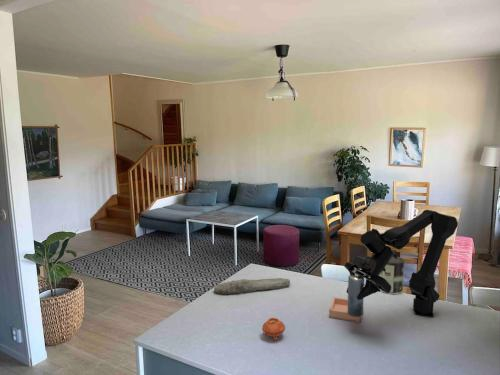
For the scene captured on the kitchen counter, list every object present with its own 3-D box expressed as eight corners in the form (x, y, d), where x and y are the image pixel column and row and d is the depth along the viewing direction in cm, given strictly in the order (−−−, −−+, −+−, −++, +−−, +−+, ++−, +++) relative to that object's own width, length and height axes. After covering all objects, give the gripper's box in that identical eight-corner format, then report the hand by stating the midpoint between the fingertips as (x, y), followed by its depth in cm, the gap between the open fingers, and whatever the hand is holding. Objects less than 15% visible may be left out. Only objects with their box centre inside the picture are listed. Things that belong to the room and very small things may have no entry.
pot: (290, 339, 126) (285, 322, 125) (268, 347, 125) (263, 330, 124) (283, 327, 134) (278, 310, 132) (262, 334, 133) (258, 318, 131)
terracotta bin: (363, 308, 148) (363, 301, 148) (361, 322, 138) (361, 314, 137) (333, 304, 152) (333, 297, 152) (329, 317, 142) (329, 310, 141)
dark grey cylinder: (363, 310, 132) (364, 275, 130) (362, 317, 127) (363, 280, 125) (348, 308, 134) (349, 273, 132) (346, 315, 129) (347, 278, 127)
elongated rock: (293, 292, 167) (286, 284, 177) (294, 280, 167) (286, 273, 177) (215, 297, 159) (212, 288, 169) (216, 285, 159) (212, 277, 168)
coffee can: (400, 285, 169) (401, 255, 167) (404, 295, 159) (406, 263, 157) (376, 284, 172) (377, 254, 169) (379, 293, 162) (380, 262, 159)
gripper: (348, 240, 137) (323, 273, 134) (386, 255, 120) (357, 294, 117) (365, 257, 141) (340, 290, 139) (403, 274, 124) (376, 312, 122)
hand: (352, 296), depth 129 cm, fingers closed on dark grey cylinder, 5 cm apart
